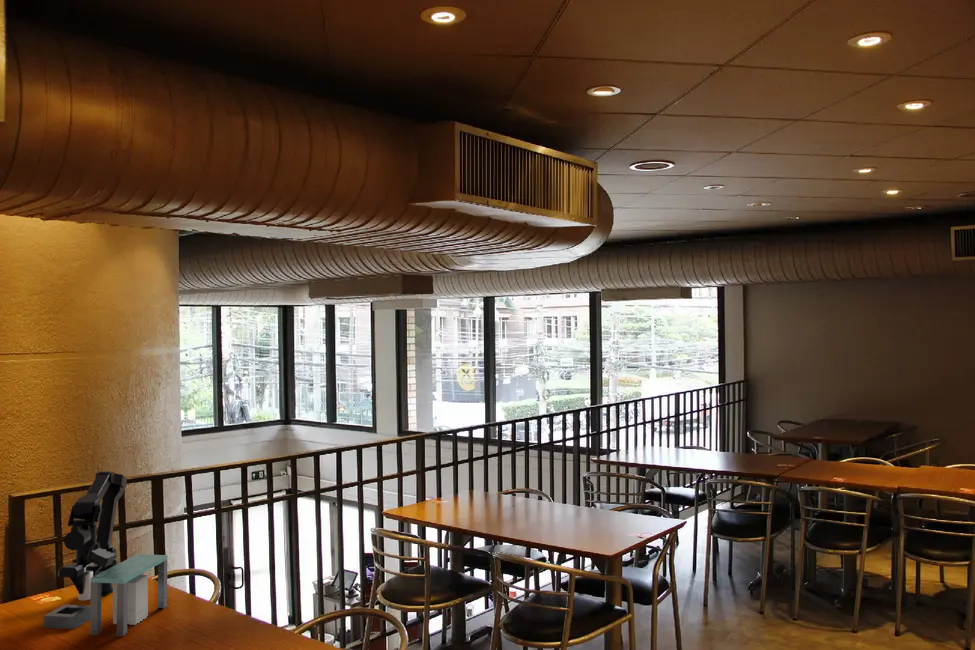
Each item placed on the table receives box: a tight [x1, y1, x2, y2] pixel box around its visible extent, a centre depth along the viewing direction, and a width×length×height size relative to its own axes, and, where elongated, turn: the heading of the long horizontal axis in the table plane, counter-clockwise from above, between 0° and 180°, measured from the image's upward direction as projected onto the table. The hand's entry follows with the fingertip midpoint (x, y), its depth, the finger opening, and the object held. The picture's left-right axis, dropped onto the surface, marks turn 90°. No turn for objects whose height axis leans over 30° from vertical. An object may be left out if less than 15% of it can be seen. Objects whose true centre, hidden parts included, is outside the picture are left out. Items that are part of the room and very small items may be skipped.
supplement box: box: [112, 574, 149, 626], centre depth 236 cm, size 7×7×13 cm
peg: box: [77, 570, 93, 601], centre depth 245 cm, size 4×4×8 cm
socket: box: [43, 604, 91, 630], centre depth 233 cm, size 9×9×4 cm
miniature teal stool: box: [89, 553, 169, 637], centre depth 236 cm, size 24×10×16 cm, turn 174°
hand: (85, 591), depth 245 cm, fingers closed on peg, 4 cm apart
